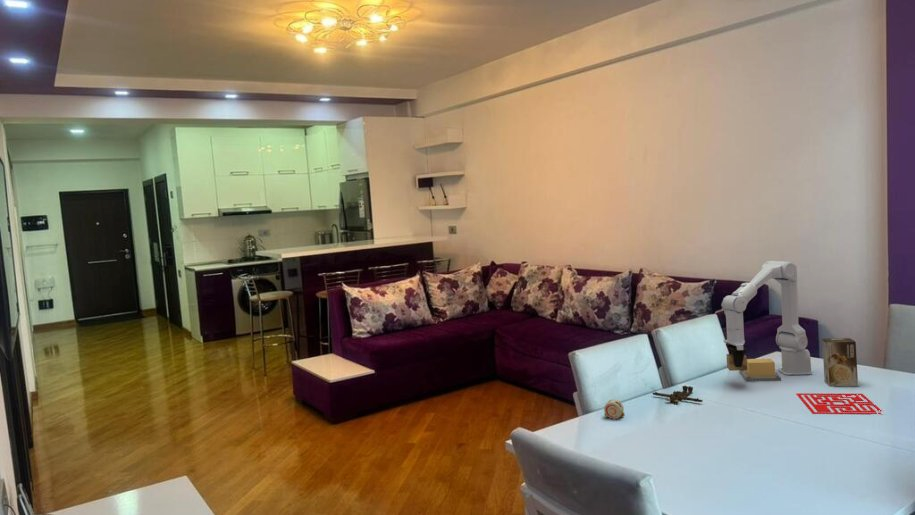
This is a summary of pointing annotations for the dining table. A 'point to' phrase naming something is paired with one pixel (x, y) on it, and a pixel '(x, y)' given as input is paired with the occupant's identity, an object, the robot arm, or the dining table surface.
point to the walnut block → (732, 366)
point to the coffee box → (840, 362)
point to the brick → (760, 367)
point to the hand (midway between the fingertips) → (736, 364)
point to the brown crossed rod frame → (679, 395)
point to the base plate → (759, 377)
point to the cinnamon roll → (614, 409)
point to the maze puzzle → (823, 409)
